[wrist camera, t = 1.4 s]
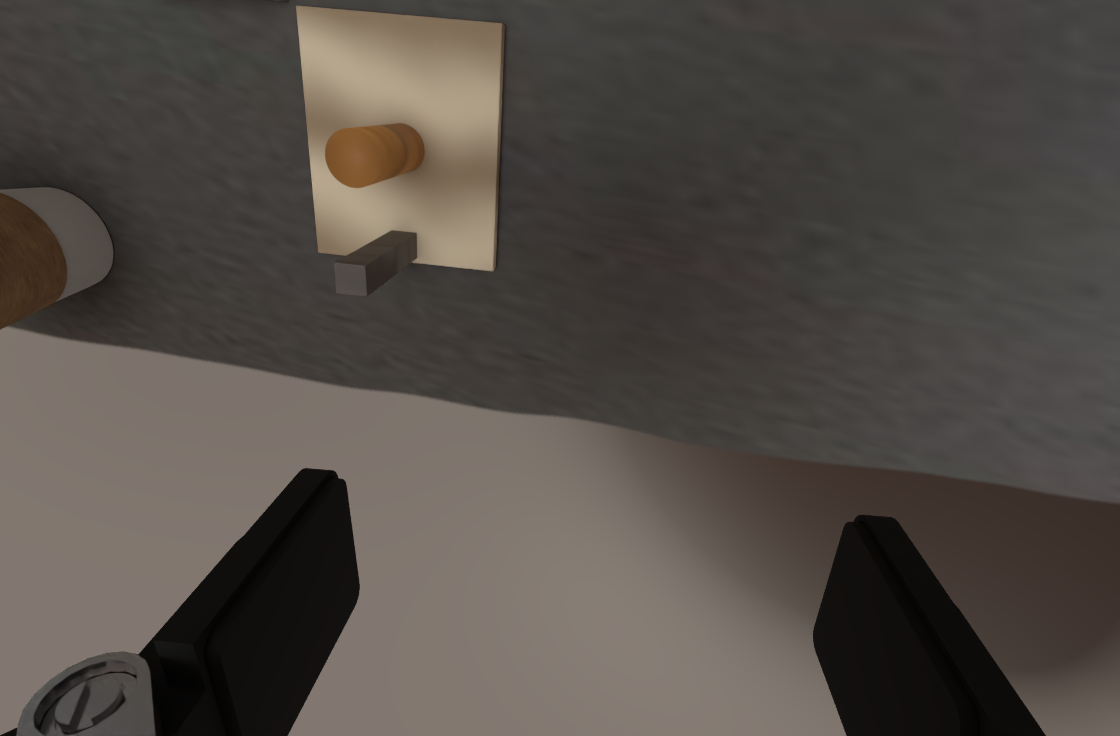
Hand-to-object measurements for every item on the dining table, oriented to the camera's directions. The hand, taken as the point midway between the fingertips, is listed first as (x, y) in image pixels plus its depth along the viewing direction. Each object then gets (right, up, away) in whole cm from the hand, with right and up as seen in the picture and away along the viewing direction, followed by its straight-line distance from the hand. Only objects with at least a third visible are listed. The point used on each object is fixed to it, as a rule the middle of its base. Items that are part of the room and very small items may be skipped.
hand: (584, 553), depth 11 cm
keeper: (-9, +15, +20) cm, 27 cm away
